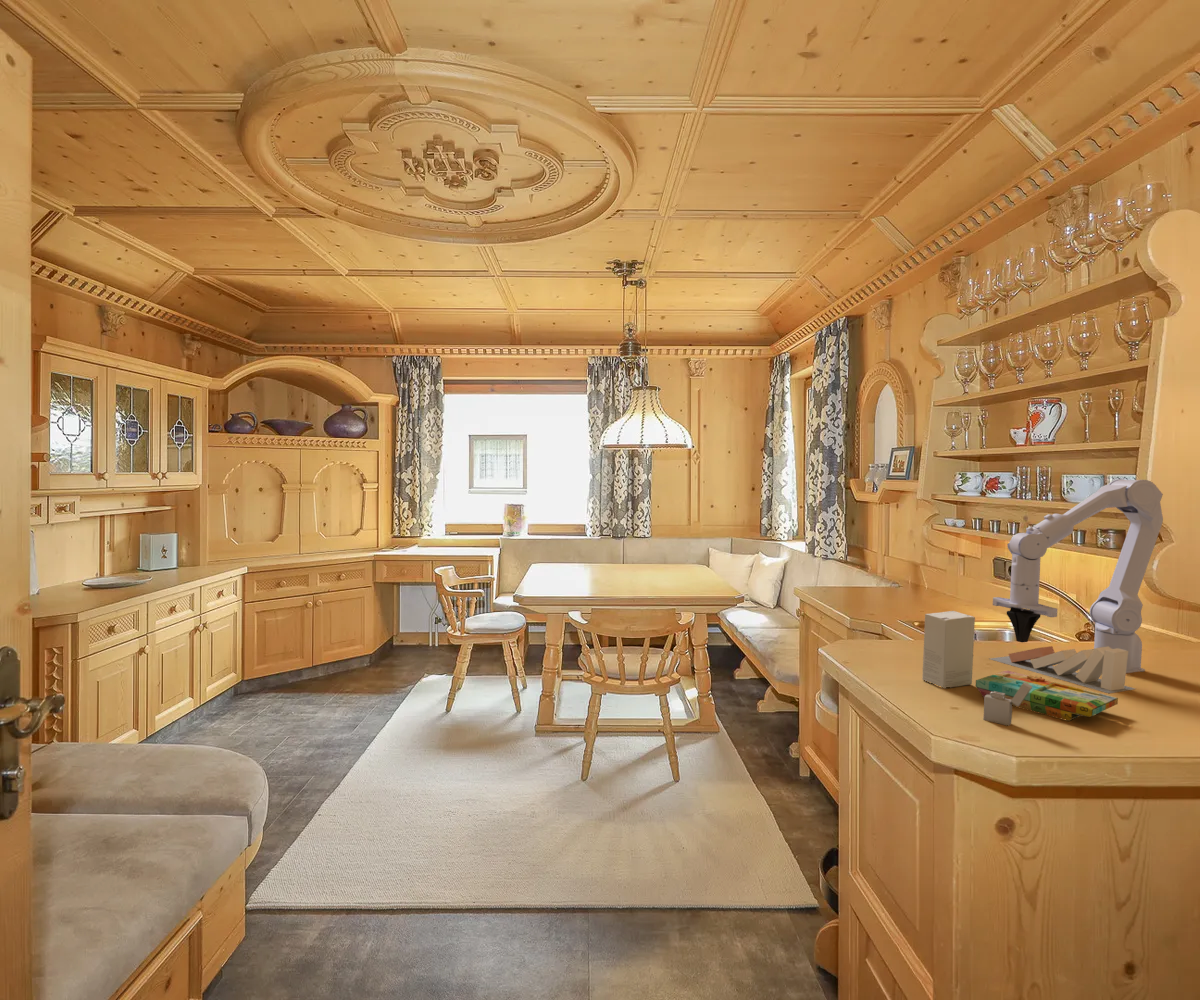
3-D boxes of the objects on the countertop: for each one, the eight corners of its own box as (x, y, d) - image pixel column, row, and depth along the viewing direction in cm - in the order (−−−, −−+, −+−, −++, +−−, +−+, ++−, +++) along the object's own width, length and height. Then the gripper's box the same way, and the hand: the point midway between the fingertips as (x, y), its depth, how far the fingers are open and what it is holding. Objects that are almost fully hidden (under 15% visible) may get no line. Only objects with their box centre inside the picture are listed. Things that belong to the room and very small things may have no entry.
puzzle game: (1004, 666, 143) (1118, 693, 127) (1003, 688, 143) (1116, 718, 127) (976, 675, 136) (1092, 704, 120) (974, 698, 137) (1091, 731, 120)
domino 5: (1113, 685, 145) (1117, 648, 144) (1124, 688, 143) (1128, 651, 142) (1100, 687, 143) (1104, 649, 142) (1110, 690, 141) (1114, 652, 141)
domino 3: (1065, 665, 154) (1094, 648, 148) (1071, 673, 153) (1100, 657, 147) (1052, 667, 152) (1081, 650, 147) (1058, 675, 151) (1087, 658, 145)
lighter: (983, 719, 124) (985, 676, 124) (985, 717, 125) (987, 674, 125) (1028, 730, 119) (1030, 685, 119) (1030, 728, 120) (1033, 683, 120)
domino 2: (1043, 658, 159) (1074, 649, 152) (1047, 667, 158) (1079, 657, 151) (1030, 660, 157) (1061, 650, 151) (1034, 668, 156) (1065, 659, 150)
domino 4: (1088, 674, 150) (1108, 646, 146) (1096, 680, 148) (1117, 652, 144) (1075, 676, 148) (1095, 648, 144) (1083, 682, 146) (1104, 654, 142)
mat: (1014, 657, 168) (1014, 655, 168) (1136, 690, 143) (1136, 688, 143) (988, 660, 164) (988, 658, 164) (1108, 695, 139) (1108, 693, 139)
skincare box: (950, 677, 150) (953, 610, 149) (973, 686, 144) (977, 615, 143) (920, 680, 147) (923, 612, 146) (943, 689, 141) (946, 618, 140)
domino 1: (1021, 652, 164) (1052, 646, 157) (1024, 660, 163) (1055, 654, 156) (1008, 653, 162) (1039, 647, 155) (1011, 662, 161) (1042, 656, 155)
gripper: (984, 580, 166) (982, 635, 166) (1043, 590, 152) (1040, 650, 153) (1005, 578, 169) (1002, 633, 169) (1064, 588, 155) (1061, 648, 156)
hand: (1022, 641), depth 161 cm, fingers closed
